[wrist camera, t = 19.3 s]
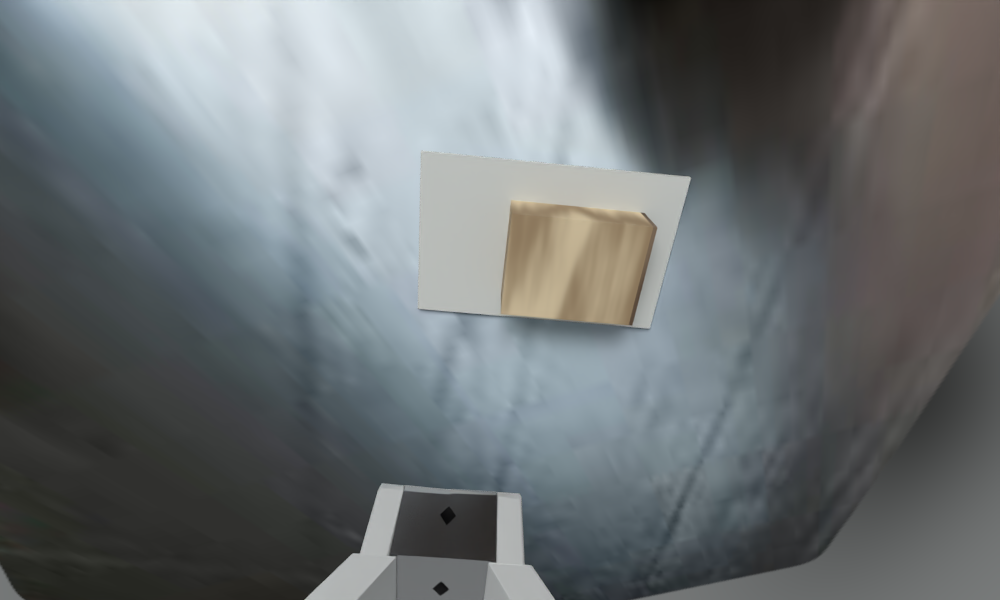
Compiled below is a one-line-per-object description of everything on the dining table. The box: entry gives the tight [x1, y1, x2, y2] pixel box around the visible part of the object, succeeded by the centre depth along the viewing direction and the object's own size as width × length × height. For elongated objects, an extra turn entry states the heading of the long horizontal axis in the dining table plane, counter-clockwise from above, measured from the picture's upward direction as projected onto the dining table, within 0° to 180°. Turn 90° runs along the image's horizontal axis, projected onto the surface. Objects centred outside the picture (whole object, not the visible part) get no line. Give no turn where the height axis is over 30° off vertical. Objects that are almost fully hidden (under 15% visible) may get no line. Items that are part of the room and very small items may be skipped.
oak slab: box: [501, 200, 658, 326], centre depth 37 cm, size 4×8×10 cm
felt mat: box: [418, 151, 691, 329], centre depth 38 cm, size 20×13×1 cm, turn 85°
